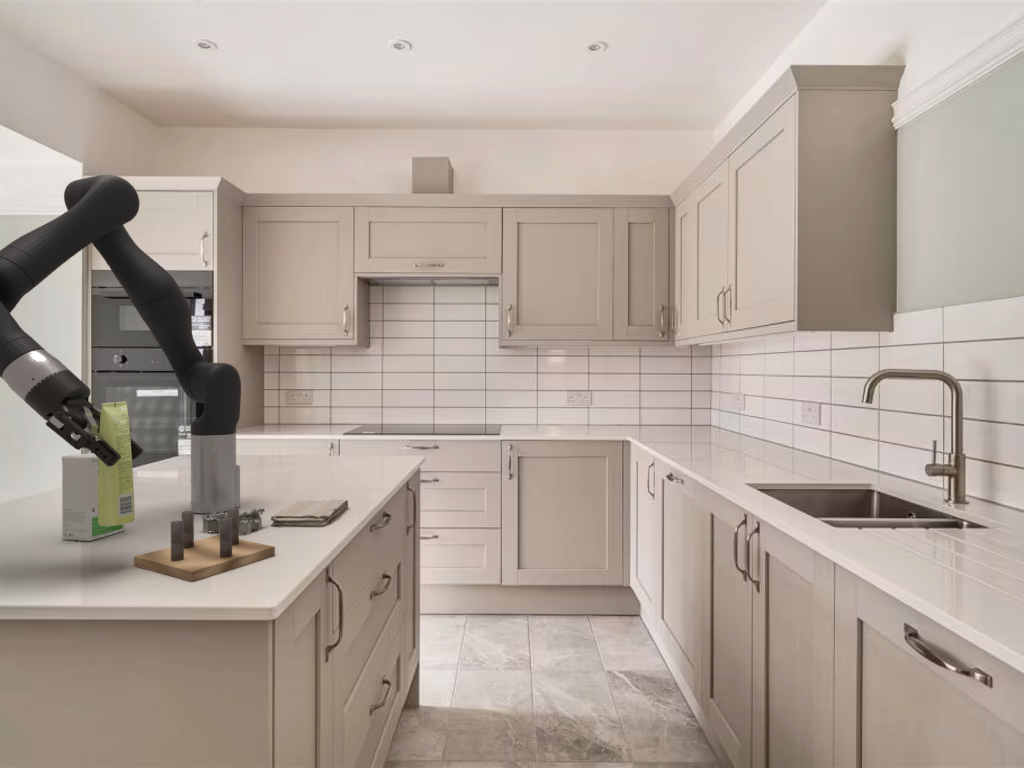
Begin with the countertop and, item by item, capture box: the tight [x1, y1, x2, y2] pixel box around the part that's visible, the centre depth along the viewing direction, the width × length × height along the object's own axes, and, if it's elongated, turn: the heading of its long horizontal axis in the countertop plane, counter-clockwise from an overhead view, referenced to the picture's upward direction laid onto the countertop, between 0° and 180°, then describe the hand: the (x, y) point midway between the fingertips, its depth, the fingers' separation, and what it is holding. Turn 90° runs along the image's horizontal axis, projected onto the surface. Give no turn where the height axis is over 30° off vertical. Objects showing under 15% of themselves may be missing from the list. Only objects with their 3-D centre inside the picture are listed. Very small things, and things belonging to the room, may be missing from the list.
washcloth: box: [270, 499, 349, 528], centre depth 131 cm, size 12×18×3 cm, turn 1°
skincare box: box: [61, 452, 126, 542], centre depth 115 cm, size 8×7×16 cm
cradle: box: [133, 507, 276, 582], centre depth 100 cm, size 15×15×8 cm
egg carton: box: [199, 508, 266, 535], centre depth 120 cm, size 11×8×4 cm
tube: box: [98, 400, 136, 527], centre depth 97 cm, size 6×5×20 cm
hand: (127, 458), depth 97 cm, fingers closed on tube, 6 cm apart
